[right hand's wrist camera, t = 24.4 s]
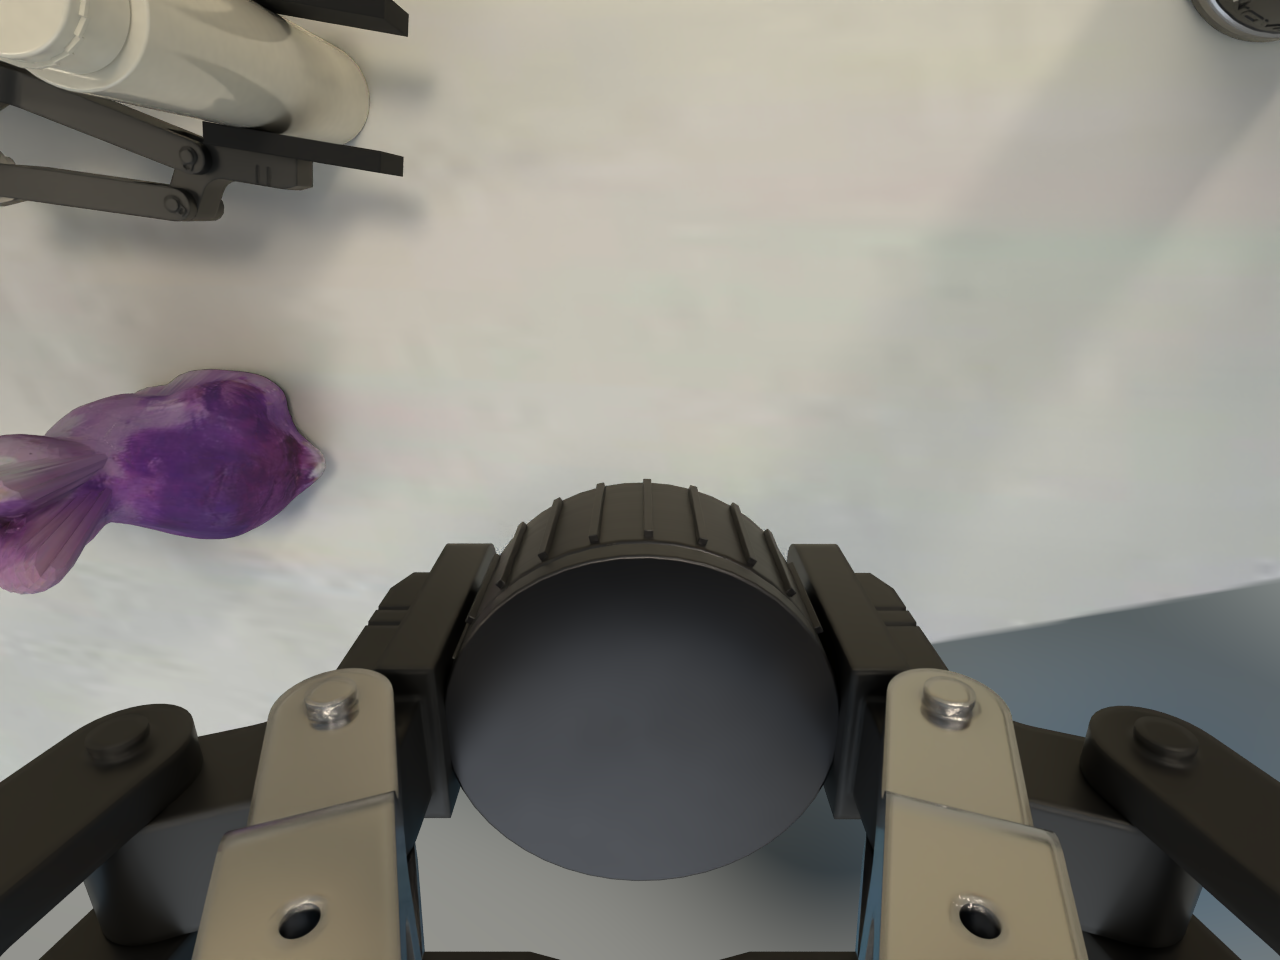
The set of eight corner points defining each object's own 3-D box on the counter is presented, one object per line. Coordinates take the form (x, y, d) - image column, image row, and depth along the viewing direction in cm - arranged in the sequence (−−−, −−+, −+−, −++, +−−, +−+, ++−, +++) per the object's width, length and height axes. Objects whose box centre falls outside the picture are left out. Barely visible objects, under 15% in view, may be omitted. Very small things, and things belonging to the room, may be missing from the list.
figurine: (88, 426, 38) (-235, 549, 24) (220, 313, 36) (-48, 376, 22) (220, 555, 41) (-2, 734, 27) (350, 457, 39) (184, 595, 25)
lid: (550, 420, 10) (523, 481, 8) (866, 555, 11) (927, 647, 8) (433, 696, 11) (383, 813, 9) (714, 797, 12) (731, 929, 10)
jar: (344, 166, 34) (51, 117, 17) (260, 109, 33) (-136, -2, 16) (386, 81, 33) (114, -62, 16) (300, 20, 32) (-85, -201, 15)
